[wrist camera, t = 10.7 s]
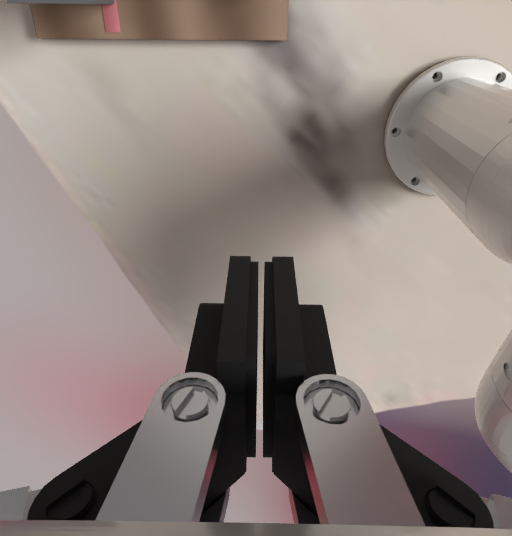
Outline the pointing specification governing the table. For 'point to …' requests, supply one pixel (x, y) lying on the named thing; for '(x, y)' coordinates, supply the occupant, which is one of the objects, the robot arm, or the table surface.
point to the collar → (63, 1)
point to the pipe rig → (164, 20)
